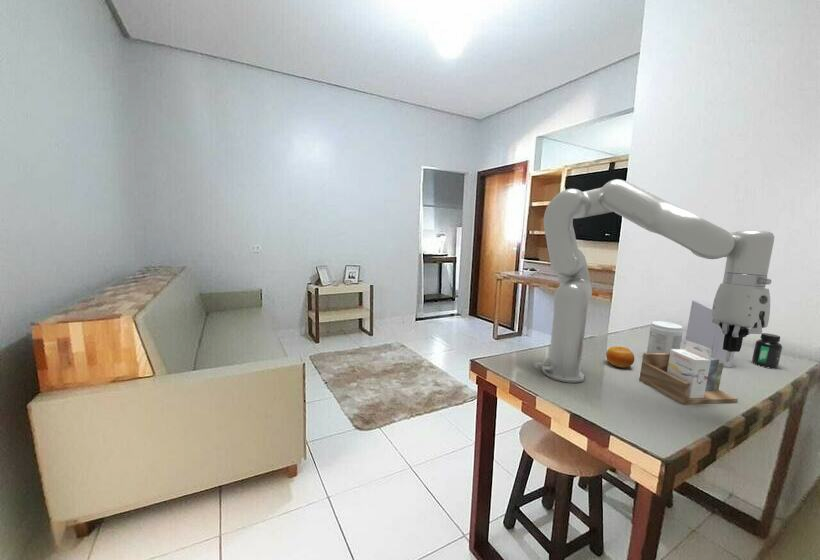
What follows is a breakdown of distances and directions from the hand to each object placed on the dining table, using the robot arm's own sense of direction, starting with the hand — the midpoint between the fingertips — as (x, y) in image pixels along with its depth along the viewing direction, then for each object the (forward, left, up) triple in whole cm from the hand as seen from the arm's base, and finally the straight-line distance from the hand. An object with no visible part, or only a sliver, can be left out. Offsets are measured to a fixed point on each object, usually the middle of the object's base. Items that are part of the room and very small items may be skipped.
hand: (731, 350), depth 84 cm
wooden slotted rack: (+4, +13, -18) cm, 23 cm away
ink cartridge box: (0, +11, -17) cm, 20 cm away
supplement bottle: (+57, +31, -18) cm, 68 cm away
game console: (+44, +42, -18) cm, 64 cm away
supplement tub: (+17, +35, -18) cm, 43 cm away
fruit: (-3, +32, -18) cm, 37 cm away
